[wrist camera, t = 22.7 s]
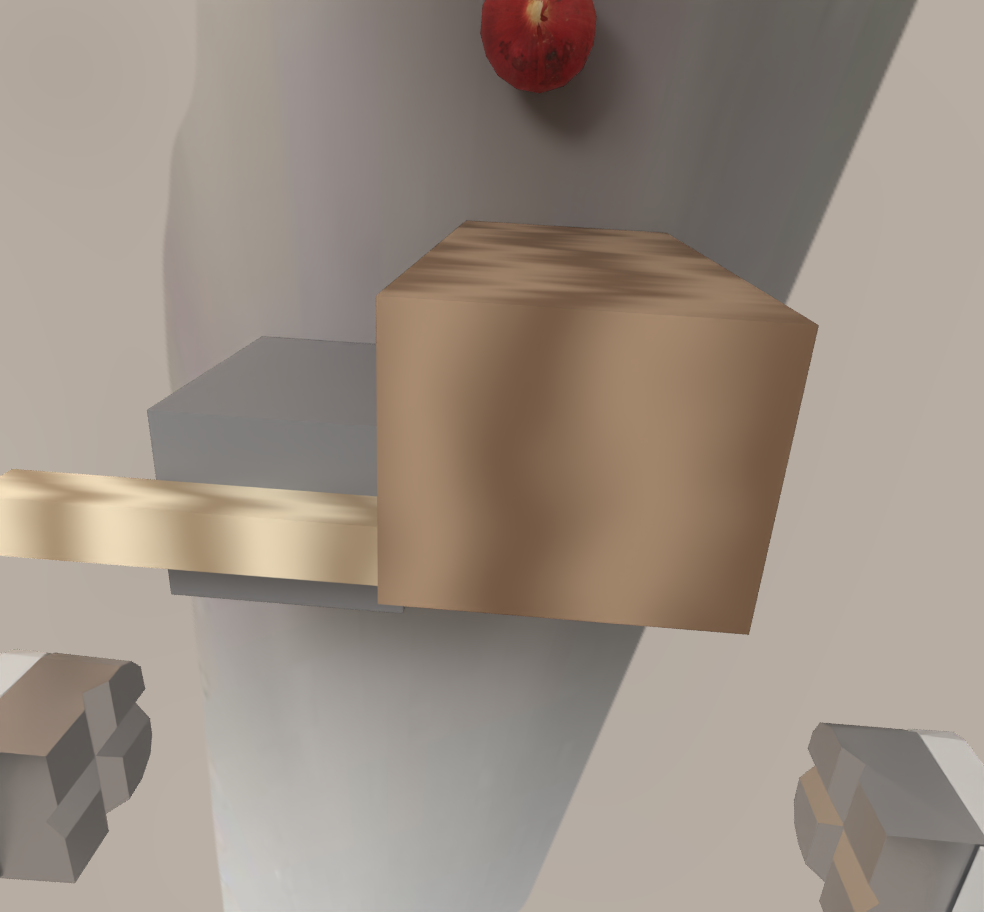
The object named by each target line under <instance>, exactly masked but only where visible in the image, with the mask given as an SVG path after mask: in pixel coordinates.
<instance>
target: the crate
mask: <svg viewBox="0 0 984 912" xmlns="http://www.w3.org/2000/svg"><path fill="white" fill-rule="evenodd" d="M147 413H148V421H149V429H150V436H151V444H152V452H153V459H154V467H155V474H156V480H165V481H178V482H191V483H205V484H218V485H231V486H244V487H258V488H271V489H284V490H298V491H311V492H324V493H337V494H351V495H364V496H377V388H376V344H363V343H349V342H335V341H320V340H306V339H291V338H277V337H260V338H259V339H257V340H256V341H254V342H252V343H251V344H249V345H248V346H246V347H245V348H243V349H241V350H240V351H238V352H237V353H235V354H234V355H232V356H231V357H229V358H227V359H226V360H224V361H223V362H221V363H220V364H218V365H216V366H215V367H213V368H212V369H210V370H209V371H207V372H205V373H204V374H202V375H201V376H199V377H198V378H196V379H195V380H193V381H191V382H190V383H188V384H187V385H185V386H184V387H182V388H180V389H179V390H177V391H176V392H174V393H173V394H171V395H170V396H168V397H166V398H165V399H163V400H162V401H160V402H159V403H157V404H155V405H154V406H152V407H151V408H149V409H148V410H147ZM168 573H169V580H170V588H171V594H174V595H186V596H198V597H210V598H222V599H234V600H246V601H258V602H270V603H282V604H294V605H306V606H319V607H331V608H343V609H355V610H367V611H379V612H391V613H403V612H404V609H405V606H396V605H384V604H378V586H373V585H361V584H348V583H336V582H323V581H311V580H298V579H286V578H273V577H261V576H248V575H236V574H223V573H211V572H198V571H186V570H173V569H168Z"/></svg>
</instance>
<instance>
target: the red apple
mask: <svg viewBox="0 0 984 912" xmlns="http://www.w3.org/2000/svg"><path fill="white" fill-rule="evenodd" d="M595 26H596V13H595V9H594V5H593V1H592V0H485V2H484V4H483V8H482V21H481V33H480V34H481V38H482V42H483V46H484V50H485V54H486V57H487V58H488V60H489V62H490V63H491V65H492V67H493V68H494V70H495V72H496V73H497V75H498V76H499V77H501V78H502V79H504V80H505V81H506V82H508V83H509V84H511V85H512V86H513V87H515V88H516V89H521V90H526V91H531V92H536V93H543V92H546V91H549V90H552V89H556V88H559V87H562V86H564V85H565V84H566V83H568V82H569V81H570V80H571V79H572V78H573V77H574V76H575V75H576V74H577V73H578V72H580V71H581V70H582V69H583V67H584V65H585V62H586V60H587V58H588V56H589V53H590V51H591V49H592V47H593V44H594V36H595Z"/></svg>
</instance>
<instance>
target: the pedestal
mask: <svg viewBox="0 0 984 912" xmlns="http://www.w3.org/2000/svg"><path fill="white" fill-rule="evenodd" d="M817 331H818V325H817V324H816V323H814V322H812V321H811V320H809V319H807V318H806V317H804V316H803V315H801V314H799V313H798V312H796V311H794V310H793V309H791V308H789V307H788V306H786V305H784V304H783V303H781V302H779V301H778V300H776V299H775V298H773V297H771V296H770V295H768V294H766V293H765V292H763V291H761V290H760V289H758V288H756V287H755V286H753V285H751V284H750V283H748V282H747V281H745V280H743V279H742V278H740V277H738V276H737V275H735V274H733V273H732V272H730V271H728V270H727V269H725V268H723V267H722V266H720V265H718V264H717V263H715V262H714V261H712V260H710V259H709V258H707V257H705V256H704V255H702V254H700V253H699V252H697V251H695V250H694V249H692V248H690V247H689V246H687V245H686V244H684V243H682V242H681V241H679V240H677V239H676V238H674V237H672V236H671V235H669V234H667V233H659V232H643V231H627V230H611V229H595V228H579V227H563V226H547V225H531V224H514V223H498V222H482V221H465V222H464V223H463V224H462V225H460V226H459V227H458V228H457V229H456V230H454V231H453V232H452V233H451V234H450V235H448V236H447V237H446V238H445V239H444V240H442V241H441V242H440V243H439V244H438V245H436V246H435V247H434V248H433V249H432V250H430V251H429V252H428V253H427V254H426V255H424V256H423V257H422V258H421V259H420V260H418V261H417V262H416V263H415V264H414V265H412V266H411V267H410V268H409V269H408V270H406V271H405V272H404V273H403V274H402V275H400V276H399V277H398V278H397V279H396V280H394V281H393V282H392V283H391V284H390V285H388V286H387V287H386V288H385V289H384V290H382V291H381V292H380V293H379V294H378V295H376V388H377V557H378V604H384V605H396V606H408V607H420V608H432V609H444V610H456V611H469V612H481V613H493V614H505V615H517V616H529V617H541V618H553V619H565V620H577V621H590V622H602V623H614V624H626V625H638V626H650V627H651V626H652V627H662V628H674V629H675V628H676V629H687V630H698V631H711V632H723V633H735V634H747V635H749V631H750V627H751V622H752V618H753V614H754V609H755V605H756V601H757V596H758V592H759V587H760V583H761V578H762V573H763V570H764V565H765V561H766V556H767V552H768V547H769V543H770V539H771V534H772V530H773V525H774V521H775V517H776V511H777V508H778V503H779V498H780V494H781V490H782V485H783V481H784V477H785V472H786V468H787V463H788V459H789V454H790V450H791V445H792V441H793V437H794V432H795V428H796V424H797V419H798V415H799V410H800V405H801V401H802V397H803V393H804V388H805V383H806V379H807V375H808V370H809V366H810V362H811V357H812V352H813V348H814V344H815V339H816V335H817Z"/></svg>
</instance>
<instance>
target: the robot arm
mask: <svg viewBox="0 0 984 912" xmlns="http://www.w3.org/2000/svg"><path fill="white" fill-rule="evenodd" d="M144 690H145V686H144V681H143V676H142V671H141V667H140V666H138V665H137V664H135V663H133V662H132V661H124V660H115V659H106V658H97V657H89V656H80V655H71V654H62V653H46V652H38V651H28V650H20V649H19V650H18V649H13V650H10V651H7V652H4V653H1V654H0V878H7V879H22V880H37V881H51V882H65V883H75V882H76V881H77V879H78V878H79V876H80V875H81V873H82V872H83V870H84V869H85V867H86V865H87V864H88V862H89V861H90V859H91V858H92V856H93V855H94V853H95V852H96V850H97V848H98V847H99V845H100V844H101V842H102V841H103V839H104V838H105V836H106V835H107V833H108V831H109V830H108V823H107V816H106V814H107V813H108V812H110V811H111V810H113V809H114V808H116V807H118V806H119V805H121V804H122V803H124V802H126V801H127V800H129V799H130V797H131V796H132V794H133V792H134V791H135V789H136V788H137V786H138V784H139V783H140V781H141V779H142V777H143V774H144V771H145V768H146V765H147V762H148V759H149V756H150V752H151V740H152V731H151V723H150V718H149V717H148V716H147V715H146V713H145V712H144V711H143V710H142V709H141V708H140V707H139V706H138V705H137V704H136V703H135V702H136V701H137V699H138V698H139V697H140V695H141V694H142V693H143V691H144ZM808 750H809V752H810V755H811V757H812V759H813V761H814V764H815V766H814V767H813V768H811V769H810V770H809V771H807V772H806V773H805V774H804V775H803V776H801V777H800V778H799V782H798V786H797V790H796V794H795V799H794V819H795V820H794V823H795V829H796V834H797V839H798V844H799V847H800V850H801V852H802V855H803V858H804V861H805V864H806V865H807V866H809V868H810V869H812V870H813V871H814V872H815V873H816V874H817V875H818V876H819V877H820V878H821V879H822V880H823V881H824V882H825V884H824V888H823V891H822V894H821V897H820V900H819V901H820V904H821V907H822V909H823V912H984V765H983V764H982V762H981V761H980V760H979V758H978V757H977V755H976V754H975V753H974V751H973V750H972V749H971V747H970V746H969V745H968V743H967V742H966V741H965V740H964V739H963V738H962V737H960V736H959V735H957V734H956V733H954V732H947V731H932V730H918V729H908V730H903V729H892V728H880V727H868V726H856V725H843V724H831V723H819V725H818V726H817V727H816V729H815V730H814V731H813V733H812V737H811V740H810V743H809V746H808Z"/></svg>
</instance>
